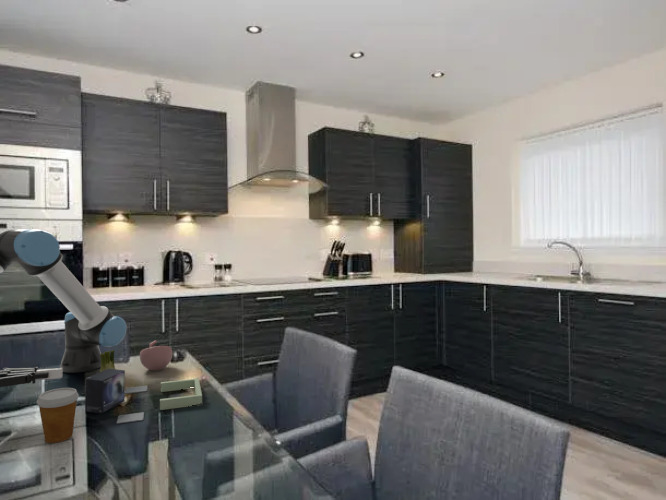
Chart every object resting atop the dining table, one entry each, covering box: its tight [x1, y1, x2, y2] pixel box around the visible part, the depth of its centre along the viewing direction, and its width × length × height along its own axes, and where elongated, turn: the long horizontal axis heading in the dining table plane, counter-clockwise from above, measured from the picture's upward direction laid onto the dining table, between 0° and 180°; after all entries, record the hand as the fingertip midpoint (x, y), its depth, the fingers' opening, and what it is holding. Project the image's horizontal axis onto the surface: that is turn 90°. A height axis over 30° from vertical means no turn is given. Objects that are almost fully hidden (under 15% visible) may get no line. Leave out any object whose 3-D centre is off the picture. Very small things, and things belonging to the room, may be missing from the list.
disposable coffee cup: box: [36, 387, 80, 444], centre depth 117 cm, size 10×10×12 cm
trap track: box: [116, 378, 203, 425], centre depth 144 cm, size 30×24×3 cm
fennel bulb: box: [99, 350, 116, 373], centre depth 158 cm, size 6×5×12 cm
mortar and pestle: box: [139, 340, 173, 371], centre depth 175 cm, size 12×12×12 cm
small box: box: [84, 368, 126, 414], centre depth 138 cm, size 11×6×10 cm, turn 168°
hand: (61, 372), depth 133 cm, fingers closed
